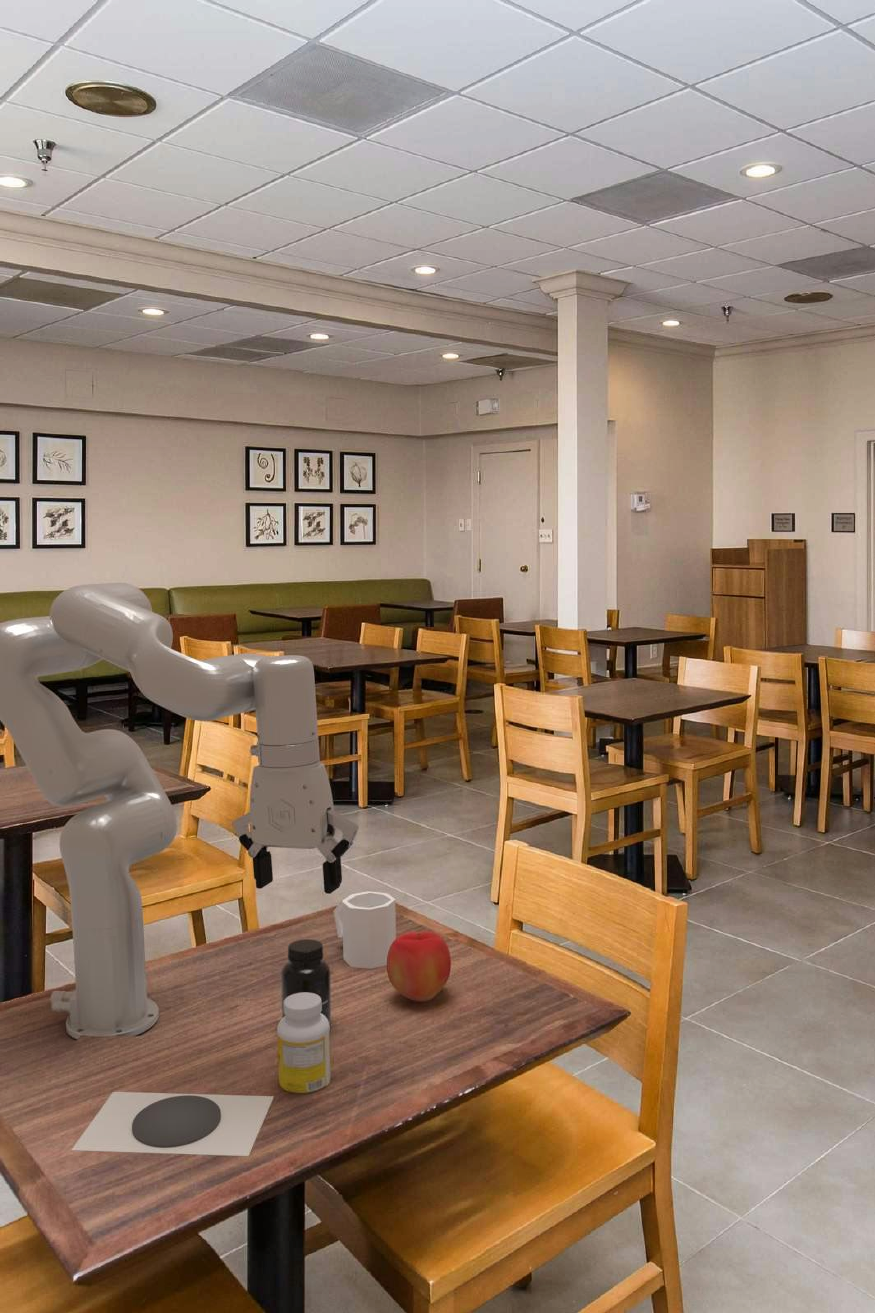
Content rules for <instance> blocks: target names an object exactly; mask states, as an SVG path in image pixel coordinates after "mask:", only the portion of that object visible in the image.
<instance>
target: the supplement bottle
mask: <svg viewBox="0 0 875 1313" xmlns="http://www.w3.org/2000/svg"><path fill="white" fill-rule="evenodd" d="M287 949H288V950H287V952H288V954H287V960H288V961H287V962H286V963H285V964H284V965H283V967H282V969H281V976H280V977H281V978H280V979H281V982H280V983H281V1019H282V1018H283V1017H285V1014H284V1004H283V1003H284V1000H285V999H286V998H287V997H288V996H290V995H293V994H296V993H302V992H307V993H314V994H317V995H318V996H320V998H321V1002H322V1011H321V1014H323V1015H324V1016H325V1017H326V1018H327V1019H328V1021H329V1026H331V1022H332V1021H331V1020H332V1018H331V1016H332V1006H331V1005H332V1004H331V1000H332V998H331V997H332V996H331V995H332V994H331V969H330V968H331V967H330V966H329V964H328V962H327V961H326V960H324V951H323V950H324V949H323V943H322V942H321V941H319V940H316V939H310V938H309V939H308V938H307V939H304V938H303V939H298V940H295V941H292V942H291V943H290V944H288V947H287Z"/></svg>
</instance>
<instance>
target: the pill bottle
mask: <svg viewBox="0 0 875 1313" xmlns="http://www.w3.org/2000/svg"><path fill="white" fill-rule="evenodd" d="M283 1004H284V1014H285V1017H283V1018H282V1017H281V1019H280V1021H279V1022H278V1024H277V1029H276V1036H277V1037H276V1039H277V1059H278V1060H277V1061H278V1062H277V1064H278V1065H277V1067H278V1085H279V1087H280V1088H281V1089H282V1090H283V1091H285V1092H288V1093H290V1094H296V1095H297V1094H298V1095H302V1094H303V1095H305V1094H311V1093H315V1092H318V1091H321V1090H323V1089H325V1088H326V1087H327V1086H328V1085H329V1084H330V1083H331V1081H332V1065H331V1061H332V1060H331V1031H330V1030H331V1028H330V1026H331V1025H330V1026H329V1021H328V1019H327V1018H326V1017H325V1016H324V1015H323V1014H321V1011H322V1002H321V998H320V996H318V995H317V994H314V993H307V992H302V993H296V994H293V995H290V996H288V997H287V998H286V999H285V1000H284V1003H283Z"/></svg>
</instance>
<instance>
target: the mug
mask: <svg viewBox="0 0 875 1313" xmlns="http://www.w3.org/2000/svg"><path fill="white" fill-rule="evenodd" d="M333 916H334V922H335V927H336V932H337V938H338V939H341V938H342V945H343V946H342V949H343V950H342V952H343V953H342V954H343V961H345V963H347V965H348V966H349V967H351V968H357V969H367V970H368V969H369V970H372V969H377V968H381V967H385V966H386V967H387V955H388V951H389V948H390V946H391V944H392V942H393V941H394V940H395V939H396V938H397V926H396V922H397V921H396V919H397V918H396V899H395V898H394V897H393V896H391V895H390V893H388V892H387V893H386V892H378V891H363V892H358V893H352V894H350V895H348V896H347V897H346V898H344V899H341V901H340V902H339V903H338V905H337V906H336V907H335V908H334V910H333Z"/></svg>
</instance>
